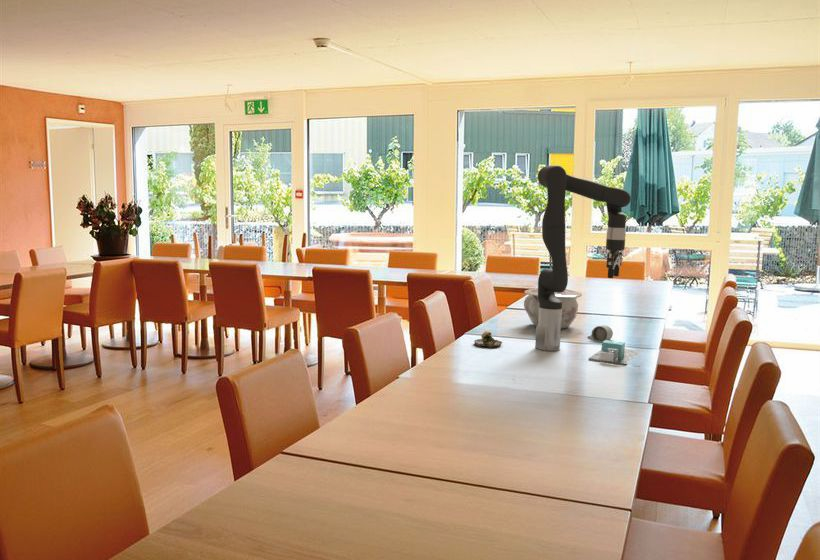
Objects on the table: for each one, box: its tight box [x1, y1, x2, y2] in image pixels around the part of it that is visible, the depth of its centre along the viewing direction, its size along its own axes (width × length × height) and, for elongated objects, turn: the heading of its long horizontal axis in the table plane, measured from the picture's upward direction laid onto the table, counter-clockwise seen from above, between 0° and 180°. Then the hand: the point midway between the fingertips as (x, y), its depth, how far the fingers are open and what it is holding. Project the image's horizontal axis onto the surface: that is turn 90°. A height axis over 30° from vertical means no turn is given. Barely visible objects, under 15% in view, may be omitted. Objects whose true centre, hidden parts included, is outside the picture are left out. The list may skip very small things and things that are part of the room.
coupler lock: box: [600, 340, 626, 360], centre depth 273 cm, size 5×8×6 cm, turn 59°
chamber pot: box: [523, 287, 583, 330], centre depth 337 cm, size 28×28×21 cm
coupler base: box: [588, 348, 642, 367], centre depth 278 cm, size 26×14×4 cm, turn 149°
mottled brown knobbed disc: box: [473, 330, 503, 348], centre depth 293 cm, size 12×12×8 cm
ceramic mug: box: [587, 325, 614, 342], centre depth 308 cm, size 10×8×7 cm
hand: (613, 277), depth 291 cm, fingers open, 8 cm apart
